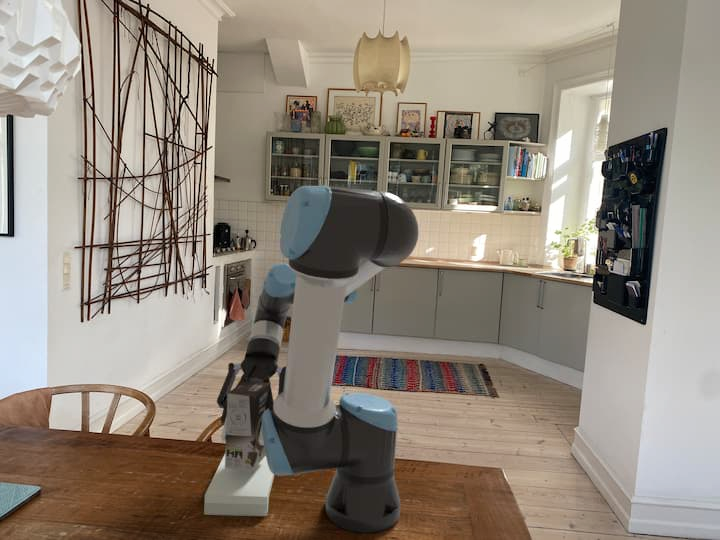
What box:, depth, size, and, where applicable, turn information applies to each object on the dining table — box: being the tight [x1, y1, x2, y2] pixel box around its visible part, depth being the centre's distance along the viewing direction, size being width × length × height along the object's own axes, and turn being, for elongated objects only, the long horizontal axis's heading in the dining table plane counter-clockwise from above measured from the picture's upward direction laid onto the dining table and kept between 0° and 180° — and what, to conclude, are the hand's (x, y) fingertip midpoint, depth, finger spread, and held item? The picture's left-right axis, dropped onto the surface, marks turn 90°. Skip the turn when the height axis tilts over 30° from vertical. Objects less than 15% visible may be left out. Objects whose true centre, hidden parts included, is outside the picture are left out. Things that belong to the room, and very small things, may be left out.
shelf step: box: [203, 454, 275, 517], centre depth 103 cm, size 12×20×4 cm, turn 3°
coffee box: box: [224, 381, 272, 472], centre depth 103 cm, size 9×6×16 cm
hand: (242, 441), depth 99 cm, fingers closed on coffee box, 7 cm apart
